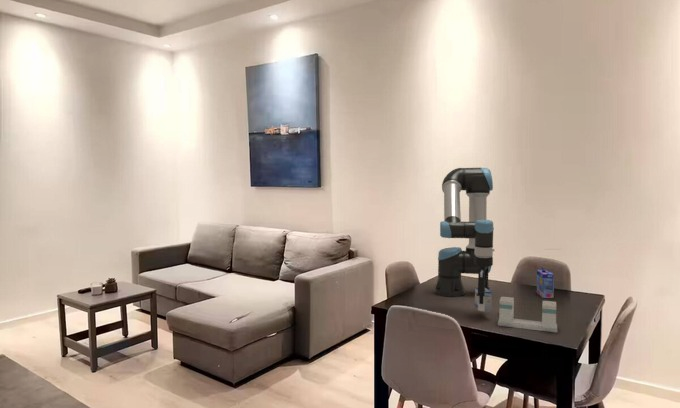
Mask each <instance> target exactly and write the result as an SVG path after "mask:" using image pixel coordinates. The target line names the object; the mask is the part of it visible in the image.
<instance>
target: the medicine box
mask: <svg viewBox="0 0 680 408" xmlns="http://www.w3.org/2000/svg"><path fill="white" fill-rule="evenodd" d="M492 293H493V292H492V291H491V290H490V289H489V290H488V289H487V288H485V311H484V312H491V311H492V299H493V298H492ZM476 294H478V286H475V287H474V306H475V308H477V309H478V296H476Z"/></svg>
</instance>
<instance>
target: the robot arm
mask: <svg viewBox="0 0 680 408" xmlns="http://www.w3.org/2000/svg"><path fill="white" fill-rule="evenodd" d="M441 183H442V184H441V189H442V190H441V191H442V193H443V206H444V207H443V213H444V214H443V215H444V216H443V219H444V220H443V221H440V223H439V226H440V227H439V236H440V237H441V238H443V239H447V238H448V239H468V244H467V246H466V247H465V250H462V247H457V246H453V247H446V248H442V249H440V250H439V251H438V255H437V257H438V258H437V260H438V264H437V265H438V266H437V267H438V268H437V274H438V275H437V280H436V283H435V285H434V286H435V287H434V294H436V295H439V296H443V297H461V296H463V295H465V293H466V292H465V287H464V286H465V285H464V282H463V280H462V274H471V275H478V277H477V278H478V279H477V280H478V281H477V287H478V294H476V296H478V308H477V311H479V312H486V311H485V288H487V289H488V290H489V291H490V289H491V287H489V286H490V285H489V273H491V270H492V267H493V265H494V258H493V257H494V255H493V254H494V253H493V252H495V248H494V221H492V220H490V219H487V208H488V207H487V198H488V197H489V196H490V191H493V189H494V185H493V184H494V183H493V176H492V171H491V169H489V168H488V167H457V168H455V169H453V170H451V171H449V172H448V173H447V174H446V175H445V177H444V178H443V180H442V182H441ZM461 191H465V195H467V197H468V221H462V217H461V215H462V214H461V197H460V196H461V195H460V194H461Z"/></svg>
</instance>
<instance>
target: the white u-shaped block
mask: <svg viewBox="0 0 680 408" xmlns="http://www.w3.org/2000/svg"><path fill="white" fill-rule="evenodd" d="M514 300H515V298H514V297H510V296H501V297H500V299H499V306H498V307H499V309H498V310H499V311H498V312H499V313H498V314H499V315H498V316H499V318H498V321H497V326H498V327H507V328H515V329H522V330H529V331H530V330H534V331H541V332H547V333H554V334H555V333H557V334H558V323H557V301H552V300H542V304H541V305H542V307H541V311H542V312H541V314H542V315H541V321H538V320H530V319H521V318H514V313H515V311H514V309H515V308H514V307H515V306H514V305H515V301H514Z"/></svg>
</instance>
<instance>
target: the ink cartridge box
mask: <svg viewBox="0 0 680 408" xmlns="http://www.w3.org/2000/svg"><path fill="white" fill-rule="evenodd" d="M540 268H541V269H536V294H538V295H539V296H540V297H541V298H542V299H554V296H555V294H554V293H555V292H554V291H555V290H554V285H555V284H554V282H555V281H554V279H555V278H554V273H553V272H551V271H549V270H548V269H545V268H544V267H543V266H540Z"/></svg>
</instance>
